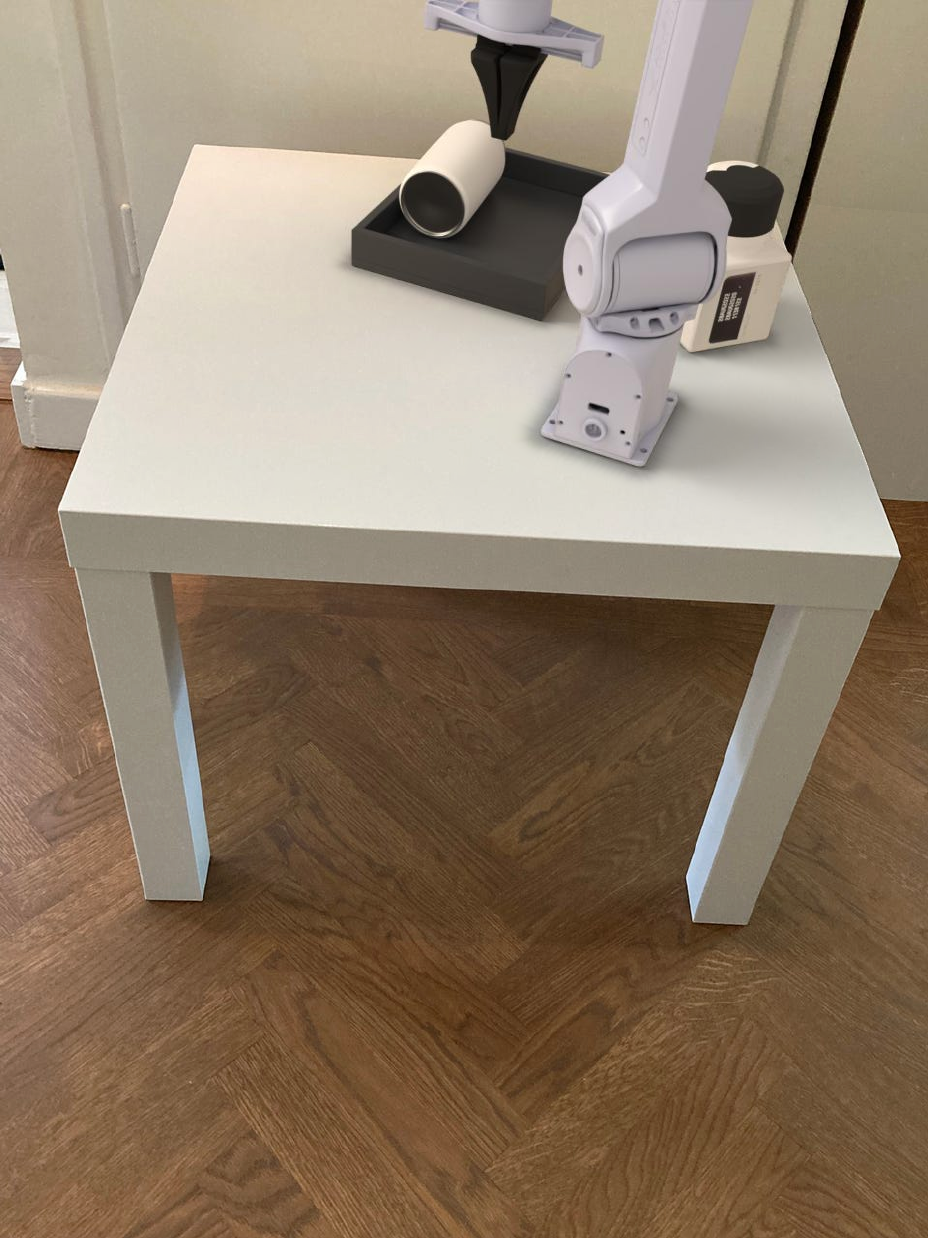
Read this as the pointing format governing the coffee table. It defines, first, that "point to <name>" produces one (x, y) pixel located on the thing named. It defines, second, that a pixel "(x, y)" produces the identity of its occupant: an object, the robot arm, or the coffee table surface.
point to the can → (452, 179)
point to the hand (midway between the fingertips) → (502, 134)
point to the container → (743, 261)
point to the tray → (488, 239)
